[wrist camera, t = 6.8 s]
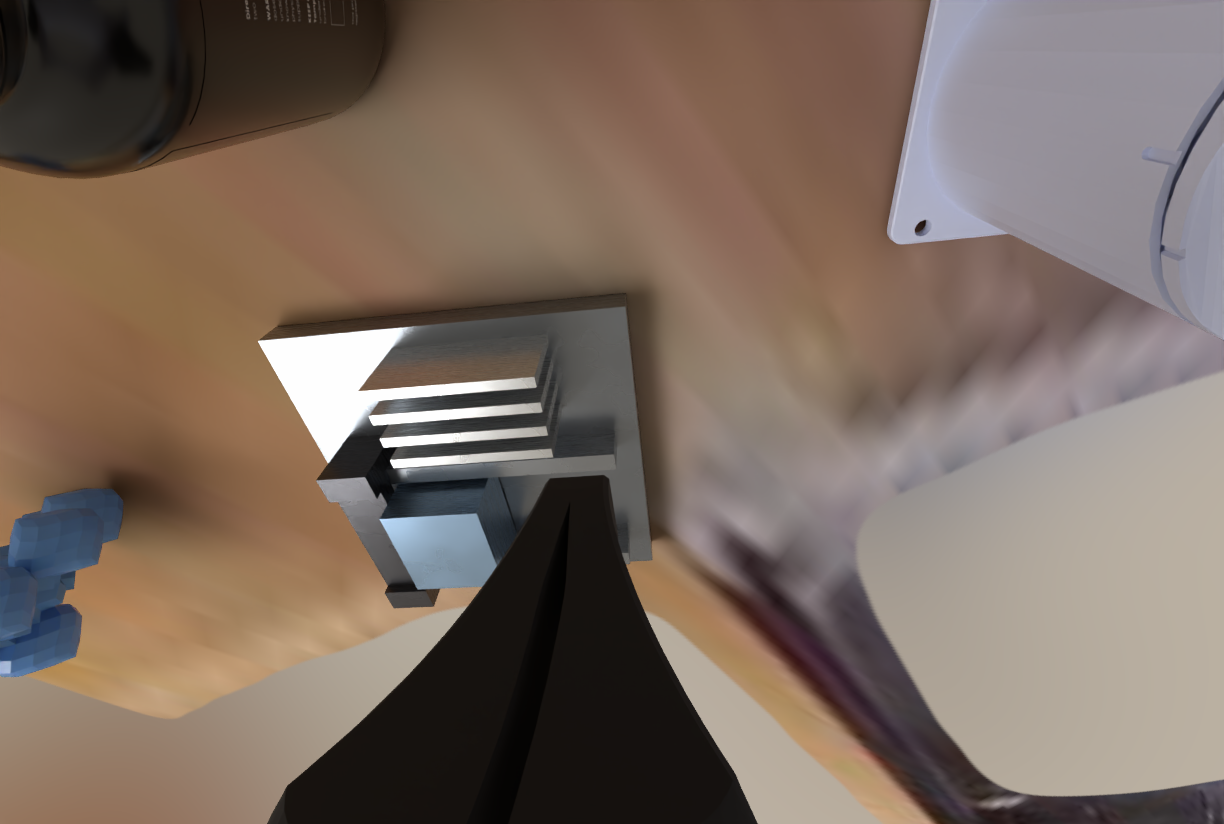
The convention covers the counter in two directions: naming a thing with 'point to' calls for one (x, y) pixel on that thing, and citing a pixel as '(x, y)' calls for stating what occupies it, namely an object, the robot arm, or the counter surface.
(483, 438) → the heatsink base
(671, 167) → the counter surface
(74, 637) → the grapes
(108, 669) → the counter surface
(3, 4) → the supplement bottle
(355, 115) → the counter surface
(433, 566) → the blue-grey rectangular block
